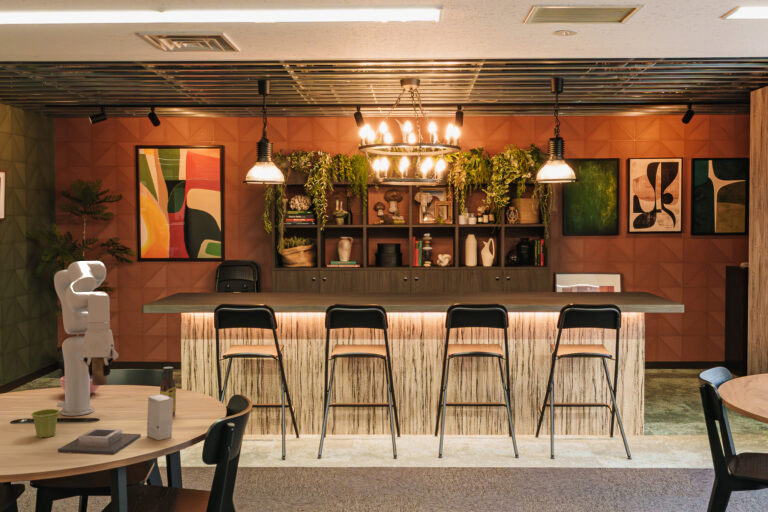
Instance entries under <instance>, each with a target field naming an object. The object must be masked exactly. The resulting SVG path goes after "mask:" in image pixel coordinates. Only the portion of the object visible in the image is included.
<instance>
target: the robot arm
mask: <svg viewBox="0 0 768 512" xmlns="http://www.w3.org/2000/svg"><path fill="white" fill-rule="evenodd" d="M106 277H107V268H106V265H105V264H104V263H103V262H102V261H99V260H82V261H81V260H80V261H74V262H72V263H70V264H69V265H68V266H67V269H62V270H59V271H57V272H56V273H55V274H54V278H53V283H54V290H55V292H56V294H57V296H58V298H59V300H60V304H61V311H62V312H61V313H62V322H63V328H64V332H65V333H66V334H68V335H80V336H70V337H68V338H66V339H64V341H63V342H62V344H61V347H62V349H61V350H62V357H63V362H64V363H63V364H64V376H65V391H64V401H57V404H56V408H62V410H60V414H61V415H63V416H67V417H75V416H76V417H77V416H83V415H88V414H91V413H93V412H94V411H95V408H94V406H91V394H90V376H92V358H104V362H105V365H104V376H107V377H108V376H109V375H110V373H111V364H112V363H113V362H114V361H115V360H116V359H117V358H118V357H119V353H118V352H117V351H116V349H115V342H114V341H115V340H114V336H113V335H114V334H113V331H112V329H110V328H111V325H110V322H111V319H110V315H111V313H110V312H111V311H110V308H111V307H110V296H109V294H108V293H106V292H105V291H94V290H95V289H97V288H99V286H101V284H102V283H104V281H105V280H106Z"/></svg>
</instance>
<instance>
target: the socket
mask: <svg viewBox="0 0 768 512" xmlns="http://www.w3.org/2000/svg"><path fill="white" fill-rule="evenodd" d="M141 437H142V436H141V433H123V429H121V428H98V427H94V428H92V429H90V430H88V431H87V432H85V433H83V434H82V435H79V436H78V437H77V438H75V439H74V440H72V441H70V442H69V443H67V444H65V445H63V446H61V447H60V448H58V449H57V453H68V452H71V453H72V454H73V453H74V454H95V455H96V454H97V455H115V454H117V453H118V452H120V451H121V450H123V449H124V448H126V447H128V446H129V445H131V444H132V443H133V442H135V441H137V440H138V439H140V438H141Z"/></svg>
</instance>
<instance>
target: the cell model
mask: <svg viewBox="0 0 768 512" xmlns="http://www.w3.org/2000/svg"><path fill="white" fill-rule="evenodd" d="M60 386H61V387H62V389H63V391H64V392H65V375H64V376H62V377H60ZM99 387H100V385H92V376H90V395H91V394H93V393H95V392H96V391H97V390H98V389H99Z"/></svg>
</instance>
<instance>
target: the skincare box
mask: <svg viewBox="0 0 768 512" xmlns="http://www.w3.org/2000/svg"><path fill="white" fill-rule="evenodd" d="M147 400H148V401H147V402H148V403H147V419H146V421H147V423H146V424H147V425H146V426H147V427H146V436H147V437H149V438H152V439H154V440H157V441H162V440H166V439H170V438H172V437H173V417H174V416H173V398H170V397H168V396H164V395H160V394H157V395H156V394H155V395H150V396H148V399H147Z"/></svg>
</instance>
